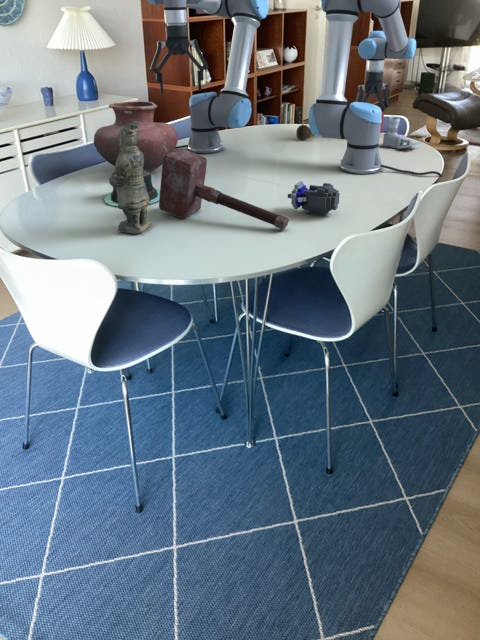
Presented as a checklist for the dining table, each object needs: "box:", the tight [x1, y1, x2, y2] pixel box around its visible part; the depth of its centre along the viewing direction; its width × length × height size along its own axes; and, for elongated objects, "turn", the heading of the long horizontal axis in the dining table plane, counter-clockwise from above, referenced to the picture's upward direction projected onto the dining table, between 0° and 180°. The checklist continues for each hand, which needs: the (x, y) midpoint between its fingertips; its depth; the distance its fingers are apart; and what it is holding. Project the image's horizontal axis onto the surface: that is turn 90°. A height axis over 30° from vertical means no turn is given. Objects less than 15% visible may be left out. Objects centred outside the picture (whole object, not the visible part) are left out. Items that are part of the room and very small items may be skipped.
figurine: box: [295, 120, 313, 141], centre depth 261 cm, size 13×8×25 cm
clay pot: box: [93, 100, 179, 172], centre depth 208 cm, size 30×30×25 cm
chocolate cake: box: [103, 169, 160, 207], centre depth 186 cm, size 15×19×20 cm
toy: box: [287, 180, 341, 216], centre depth 168 cm, size 9×9×15 cm
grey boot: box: [382, 116, 422, 150], centre depth 236 cm, size 9×12×15 cm
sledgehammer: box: [158, 148, 290, 231], centre depth 163 cm, size 17×10×40 cm
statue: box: [108, 121, 153, 235], centre depth 154 cm, size 11×9×30 cm
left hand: (181, 91), depth 198 cm, fingers open, 13 cm apart
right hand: (369, 124), depth 253 cm, fingers closed on block, 9 cm apart
